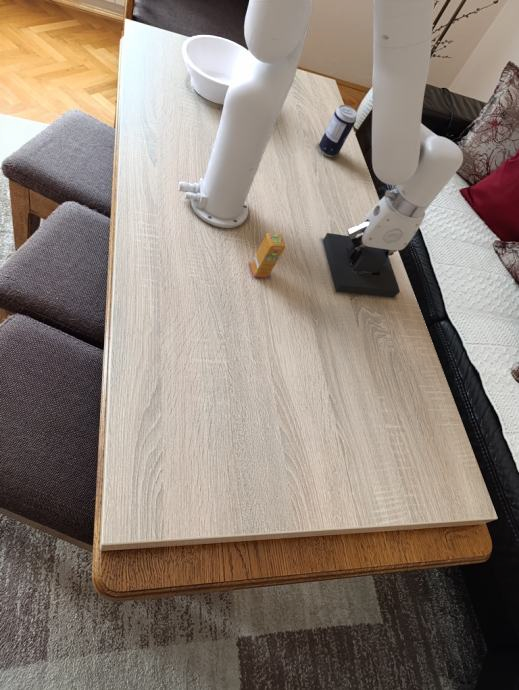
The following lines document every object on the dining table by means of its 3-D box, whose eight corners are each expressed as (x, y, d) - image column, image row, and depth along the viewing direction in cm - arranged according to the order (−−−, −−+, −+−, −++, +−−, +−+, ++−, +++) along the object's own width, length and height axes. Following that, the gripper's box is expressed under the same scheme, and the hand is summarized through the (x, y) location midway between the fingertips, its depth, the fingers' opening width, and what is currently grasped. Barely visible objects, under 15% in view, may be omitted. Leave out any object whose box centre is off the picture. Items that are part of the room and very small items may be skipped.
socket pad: (335, 292, 106) (340, 285, 104) (322, 240, 114) (327, 232, 112) (394, 298, 111) (400, 291, 109) (378, 248, 119) (383, 240, 117)
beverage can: (337, 161, 132) (359, 121, 122) (318, 154, 131) (338, 114, 121) (336, 147, 135) (357, 108, 125) (317, 141, 134) (336, 100, 124)
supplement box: (254, 278, 101) (270, 245, 93) (250, 265, 103) (265, 231, 95) (269, 278, 102) (286, 245, 94) (264, 265, 104) (281, 231, 96)
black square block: (353, 270, 108) (363, 257, 105) (347, 250, 111) (357, 236, 107) (376, 273, 110) (387, 260, 107) (370, 253, 113) (380, 239, 109)
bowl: (210, 123, 123) (218, 93, 116) (159, 71, 128) (164, 38, 121) (269, 108, 135) (280, 80, 128) (221, 60, 139) (229, 31, 133)
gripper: (374, 207, 91) (331, 269, 106) (451, 220, 97) (400, 278, 111) (364, 178, 95) (324, 242, 109) (439, 193, 101) (391, 252, 115)
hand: (363, 260), depth 110 cm, fingers closed on black square block, 5 cm apart
